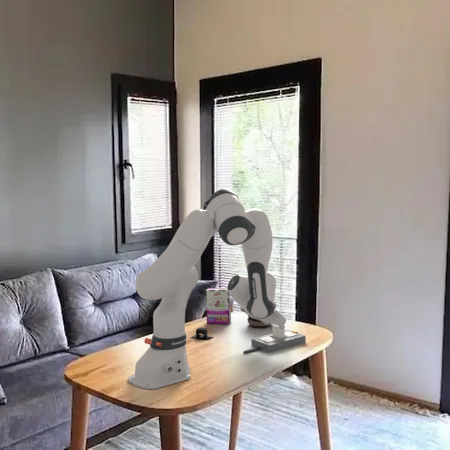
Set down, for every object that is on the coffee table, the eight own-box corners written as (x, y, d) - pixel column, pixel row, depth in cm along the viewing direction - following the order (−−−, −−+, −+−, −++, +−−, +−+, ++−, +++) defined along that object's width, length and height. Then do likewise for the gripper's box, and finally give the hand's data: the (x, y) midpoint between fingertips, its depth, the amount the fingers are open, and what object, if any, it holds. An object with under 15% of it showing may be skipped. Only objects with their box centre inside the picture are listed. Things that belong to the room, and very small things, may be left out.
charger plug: (279, 346, 215) (279, 327, 214) (272, 343, 218) (272, 324, 217) (284, 344, 216) (284, 325, 216) (278, 342, 220) (278, 323, 219)
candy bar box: (231, 321, 252) (230, 288, 250) (229, 324, 247) (229, 290, 246) (208, 321, 254) (207, 287, 252) (206, 323, 249) (205, 289, 247)
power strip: (252, 357, 202) (252, 348, 202) (234, 350, 211) (234, 341, 210) (305, 342, 219) (305, 333, 218) (287, 336, 227) (287, 328, 227)
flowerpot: (259, 319, 256) (258, 278, 254) (283, 325, 244) (282, 282, 242) (237, 325, 246) (236, 283, 244) (261, 332, 235) (260, 287, 233)
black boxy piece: (218, 338, 228) (218, 328, 228) (210, 343, 222) (210, 332, 221) (193, 334, 234) (193, 324, 233) (184, 339, 227) (184, 329, 227)
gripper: (277, 304, 201) (296, 324, 207) (244, 295, 217) (263, 314, 224) (268, 317, 198) (288, 338, 205) (236, 307, 215) (255, 326, 222)
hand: (275, 325), depth 214 cm, fingers open, 8 cm apart
